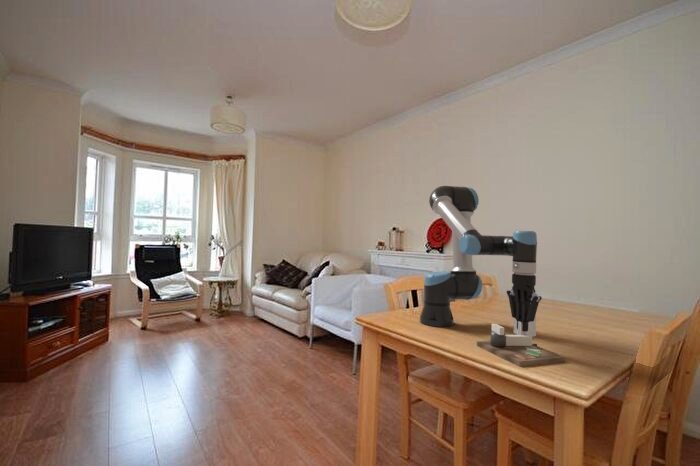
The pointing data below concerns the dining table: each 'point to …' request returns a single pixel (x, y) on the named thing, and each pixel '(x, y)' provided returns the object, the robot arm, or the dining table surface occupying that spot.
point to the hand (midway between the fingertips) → (522, 339)
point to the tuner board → (523, 354)
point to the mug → (531, 328)
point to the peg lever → (508, 338)
